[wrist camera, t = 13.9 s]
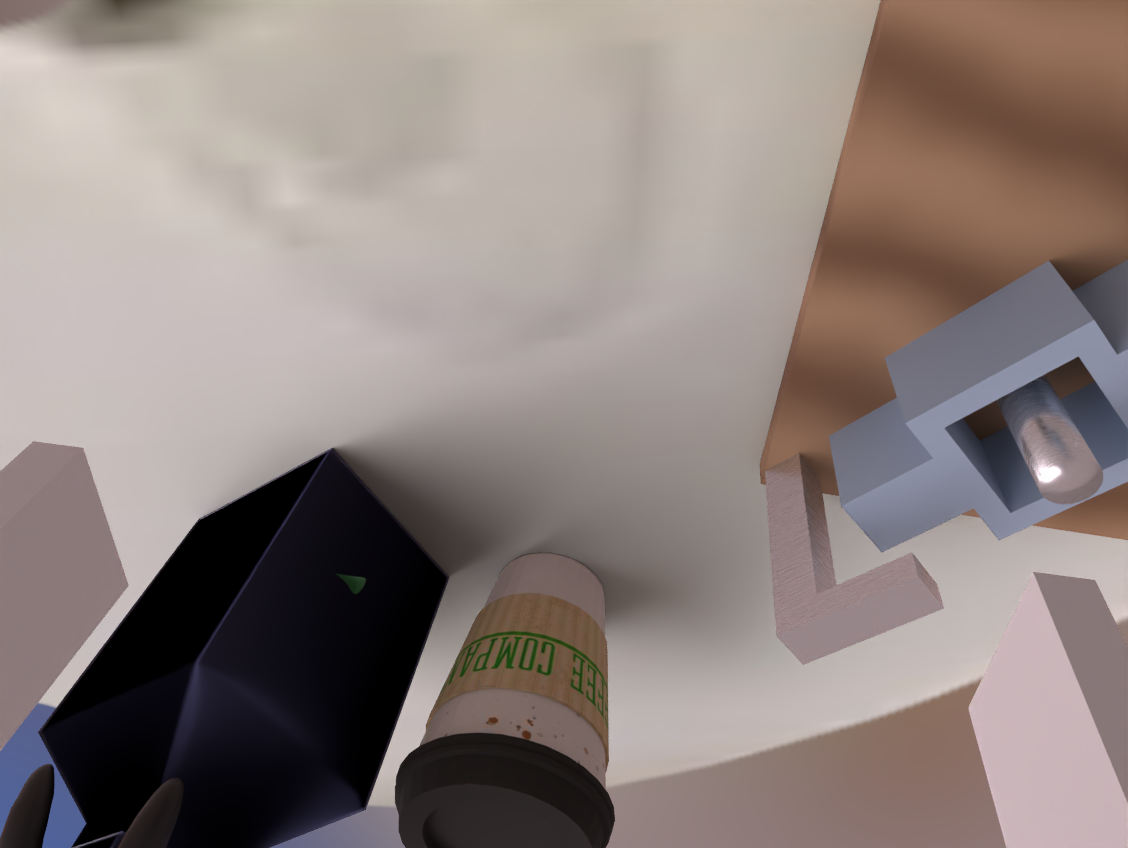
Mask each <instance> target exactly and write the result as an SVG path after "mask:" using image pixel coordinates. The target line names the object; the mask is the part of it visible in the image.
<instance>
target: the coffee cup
mask: <svg viewBox="0 0 1128 848" xmlns="http://www.w3.org/2000/svg"><path fill="white" fill-rule="evenodd" d="M608 761H609V746H608V661H607V641H606V639H605V597H604V591H603V588H602V585H601V583H600V582H599V580H598V578H597V577H596V576H595V575H594V574H593V573H592V572H591V571H590V570H589V569H588V568H587V567H585V566H584V565H582V564H581V563H579V562H577V561H575V560H573V559H571V558H568V557H565V556H562V555H557V554H551V553H536V554H528V555H525V556H522V557H519V558H517V559H515V560H513V561H511V562H510V563H509V564H508V565H506V566H505V567H504V569H503V570H502V571H501V573H500V575H499V577H498V579H497V581H496V583H495V585H494V588H493V590H492V592H491V594H490V596H489V598H488V600H487V603H486V605H485V607H484V608H483V609H482V610H481V612H480V613H479V614H478V616H477V617H476V619H475V621H474V623H473V625H472V627H471V630H470V632H469V634H468V636H467V638H466V640H465V642H464V644H463V646H462V648H461V650H460V653H459V655H458V657H457V659H456V661H455V663H454V665H453V667H452V669H451V671H450V673H449V676H448V678H447V680H446V682H445V684H444V686H443V688H442V690H441V692H440V694H439V697H438V699H437V701H436V703H435V705H434V707H433V709H432V711H431V713H430V716H429V718H428V721H427V724H426V733H425V735H424V737H423V739H422V742H421V744H420V746H419V747H418V748H416V749H415V750H414V751H412V752H411V753H409V755H408V756H407V757H406V758H405V760H404V761H403V762H402V763H401V765H400V768H399V771H398V773H397V776H396V786H395V804H396V807H397V810H398V813H399V833H400V837H401V840H402V843H403V844H404V846H405V847H406V848H606V846H607V844H608V842H609V839H610V836H611V833H612V829H613V826H614V821H615V816H614V807H613V804H612V802H611V799H610V797H609V794H608V792H607V791H606V782H605V773H606V770H607V766H608Z"/></svg>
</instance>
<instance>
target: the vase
mask: <svg viewBox="0 0 1128 848" xmlns="http://www.w3.org/2000/svg"><path fill="white" fill-rule="evenodd" d="M448 579H449V577H448V575H447V574H446V573H445V572H444V571H443V570H442V569H441V568H440V567H439V566H438V564H437V563H436V562H435V561H434V560H433V559H432V558H431V557H430V556H429V554H428V553H427V552H426V551H425V550H424V549H423V548H422V547H421V546H420V545H419V543H418V542H417V541H416V540H415V539H414V538H413V537H412V536H411V535H410V533H409V532H408V531H407V530H406V529H405V528H404V527H403V526H402V525H401V523H400V522H399V521H398V520H397V519H396V518H395V517H394V516H393V515H392V514H391V512H390V511H389V510H388V509H387V508H386V507H385V506H384V505H383V504H382V502H381V501H380V500H379V499H378V498H377V497H376V496H375V495H374V494H373V493H372V491H371V490H370V489H369V488H368V487H367V486H366V485H365V484H364V483H363V481H362V480H361V479H360V478H359V477H358V476H357V475H356V474H355V473H354V472H353V470H352V469H351V468H350V467H349V466H348V465H347V464H346V463H345V462H344V460H343V459H342V458H341V457H340V456H339V455H338V454H337V453H336V452H335V450H334V449H333V448H331V449H329V450H327V451H325V452H324V453H322V454H320V455H318V456H316V457H314V458H312V459H311V460H309V461H307V462H305V463H303V464H301V465H299V466H297V467H296V468H294V469H292V470H290V471H288V472H286V473H284V474H283V475H281V476H279V477H277V478H275V479H273V480H271V481H270V482H268V483H266V484H264V485H262V486H260V487H258V488H256V489H255V490H253V491H251V492H249V493H247V494H245V495H243V496H242V497H240V498H238V499H236V500H234V501H232V502H230V503H228V504H227V505H225V506H223V507H221V508H219V509H217V510H215V511H214V512H212V513H210V514H208V515H206V516H204V517H202V518H200V519H199V520H198V521H197V522H196V523H195V525H194V526H193V527H192V529H191V530H190V531H189V533H188V534H187V535H186V537H185V538H184V539H183V541H182V542H181V543H180V545H179V546H178V547H177V549H176V550H175V551H174V553H173V554H172V555H171V557H170V558H169V559H168V561H167V562H166V563H165V565H164V566H163V567H162V569H161V570H160V571H159V573H158V574H157V575H156V576H155V578H154V579H153V580H152V582H151V583H150V584H149V586H148V587H147V588H146V590H145V591H144V592H143V594H142V595H141V596H140V598H139V599H138V600H137V602H136V603H135V604H134V606H133V607H132V608H131V610H130V611H129V612H128V614H127V615H126V616H125V618H124V619H123V620H122V622H121V623H120V624H119V626H118V627H117V628H116V630H115V631H114V632H113V634H112V635H111V636H110V638H109V639H108V640H107V642H106V643H105V644H104V646H103V647H102V648H101V649H100V651H99V652H98V653H97V655H96V656H95V657H94V659H93V660H92V661H91V663H90V664H89V665H88V667H87V668H86V669H85V671H84V672H83V673H82V675H81V676H80V677H79V679H78V680H77V681H76V683H75V684H74V685H73V687H72V688H71V689H70V691H69V692H68V693H67V695H66V696H65V697H64V699H63V700H62V701H61V703H60V704H59V705H58V707H57V708H56V709H55V711H54V712H53V713H52V715H51V716H50V717H49V719H48V720H47V721H46V723H45V724H44V725H43V726H42V728H41V729H40V730H39V732H38V733H39V735H40V737H41V738H42V740H43V742H44V744H45V746H46V748H47V750H48V752H49V754H50V755H51V757H52V759H53V761H54V763H55V765H56V767H57V769H58V771H59V772H60V774H61V776H62V778H63V780H64V782H65V784H66V786H67V788H68V789H69V791H70V793H71V795H72V797H73V799H74V801H75V803H76V805H77V806H78V808H79V810H80V812H81V814H82V816H83V818H84V820H85V822H86V823H87V824H86V825H85V827H84V828H83V830H82V832H81V833H80V835H79V836H78V838H77V839H76V841H75V843H74V844H73V846H72V847H71V848H269V847H272V846H275V845H277V844H280V843H282V842H285V841H287V840H290V839H292V838H295V837H297V836H300V835H303V834H305V833H308V832H310V831H313V830H315V829H318V828H320V827H323V826H326V825H328V824H331V823H333V822H336V821H338V820H341V819H343V818H346V817H348V816H351V815H353V814H356V813H358V812H361V811H364V810H366V807H367V804H368V802H369V799H370V796H371V793H372V790H373V788H374V785H375V782H376V779H377V777H378V774H379V771H380V768H381V765H382V763H383V760H384V757H385V754H386V752H387V749H388V746H389V743H390V741H391V738H392V735H393V732H394V729H395V727H396V724H397V721H398V718H399V716H400V713H401V710H402V707H403V704H404V702H405V699H406V696H407V693H408V691H409V688H410V685H411V682H412V679H413V677H414V674H415V671H416V668H417V666H418V663H419V660H420V657H421V654H422V652H423V649H424V646H425V643H426V641H427V638H428V635H429V632H430V629H431V627H432V624H433V621H434V618H435V616H436V613H437V610H438V607H439V604H440V602H441V599H442V596H443V593H444V591H445V588H446V585H447V582H448ZM53 796H54V768H53V766H52V765H51V764H46V765H43V766H41V767H39V768H38V769H37V770H36V771H34V772H33V773H32V774H31V776H30V777H29V778H28V780H27V781H26V783H25V784H24V787H23V788H22V790H21V792H20V794H19V796H18V798H17V799H16V801H15V802H14V804H13V806H12V807H11V810H10V813H9V815H8V818H7V821H6V823H5V826H4V829H3V832H2V835H1V837H0V848H42V844H43V838H44V834H45V831H46V827H47V823H48V818H49V813H50V808H51V804H52V800H53Z"/></svg>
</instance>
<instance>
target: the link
mask: <svg viewBox="0 0 1128 848" xmlns="http://www.w3.org/2000/svg"><path fill="white" fill-rule="evenodd" d="M1078 356H1079V358H1080V359H1081V361H1082V362H1083V364H1084V365H1085V367H1086V368H1087V370H1088V371H1089V373H1090V374H1091V376H1092V377H1093V379H1094V380H1095V382H1093V383H1091V384H1089V385H1087V386H1085V387H1083V388H1081V389H1079V390H1077V391H1075V392H1073V393H1071V394H1069V395H1067V396H1065V397H1063V398H1062V399H1060V400H1061V402H1062V403H1063V405H1064V407H1065V408H1066V410H1067V412H1068V413H1069V415H1070V417H1071V418H1072V420H1073V422H1074V423H1075V425H1076V427H1077V429H1078V430H1079V432H1080V434H1081V435H1082V437H1083V439H1084V440H1085V442H1086V444H1087V445H1088V447H1089V449H1090V450H1091V452H1092V454H1093V455H1094V457H1095V459H1096V460H1097V462H1098V464H1099V465H1100V467H1101V469H1102V471H1103V476H1104V477H1103V482H1102V485H1101V487H1100V488H1099V489H1098V491H1097V492H1096V493H1095V494H1093V495H1092V496H1091V497H1089V498H1087V499H1085V500H1083V501H1081V502H1078V503H1073V504H1057V503H1053V502H1051V501H1048V500H1047V499H1045V498H1044V497H1043V496H1042V495H1041V493H1040V491H1039V489H1038V487H1037V485H1036V483H1035V481H1034V479H1033V477H1032V475H1031V473H1030V470H1029V468H1028V466H1027V464H1026V462H1025V460H1024V458H1023V456H1022V454H1021V452H1020V450H1019V448H1018V446H1017V444H1016V442H1015V439H1014V437H1013V435H1012V433H1011V431H1010V429H1009V427H1008V426H1007V427H1005V428H1003V429H1001V430H999V431H997V432H995V433H994V434H992V435H990V436H988V437H986V438H984V439H982V440H979V439H978V438H977V436H976V435H975V434H974V432H973V431H972V430H971V428H970V427H969V426H968V425H967V423H966V422H965V421H964V419H963V418H964V417H965V416H967V415H969V414H971V413H973V412H975V411H977V410H979V409H981V408H982V407H984V406H986V405H988V404H990V403H992V402H994V401H996V400H997V399H999V398H1001V397H1003V396H1005V395H1007V394H1009V393H1011V392H1012V391H1014V390H1016V389H1018V388H1020V387H1022V386H1024V385H1026V384H1027V383H1029V382H1031V381H1033V380H1035V379H1037V378H1039V377H1041V376H1043V375H1044V374H1046V373H1048V372H1050V371H1052V370H1054V369H1056V368H1058V367H1059V366H1061V365H1063V364H1065V363H1067V362H1069V361H1071V360H1073V359H1074V358H1076V357H1078ZM885 360H886V364H887V367H888V370H889V373H890V376H891V380H892V383H893V386H894V389H895V392H896V396H897V398H895V399H893V400H892V401H890V402H888V403H886V404H885V405H883V406H881V407H879V408H877V409H876V410H874V411H872V412H870V413H869V414H867V415H865V416H863V417H862V418H860V419H858V420H856V421H854V422H853V423H851V424H849V425H847V426H846V427H844V428H842V429H840V430H838V431H837V432H835V433H833V434H831V435H830V436H829V441H830V446H831V452H832V458H833V463H834V469H835V474H836V480H837V485H838V491H839V496H840V502H841V506H842V507H843V509H844V510H845V511H846V512H847V513H848V514H849V515H850V517H851V518H852V519H853V520H854V521H855V522H856V523H857V525H858V526H859V527H860V528H861V529H862V530H863V531H864V533H865V534H866V535H867V536H868V537H869V538H870V539H871V540H872V542H873V543H874V544H875V545H876V546H877V547H878V548H879V550H880V551H881V552H884V551H886V550H888V549H890V548H892V547H894V546H896V545H898V544H900V543H902V542H904V541H907V540H909V539H911V538H913V537H915V536H917V535H919V534H921V533H923V532H925V531H927V530H929V529H932V528H934V527H936V526H938V525H940V524H942V523H944V522H946V521H948V520H950V519H952V518H955V517H957V516H959V515H961V514H963V513H965V512H967V511H969V510H971V509H973V508H974V510H975V511H976V512H977V513H978V515H979V516H980V517H981V518H982V520H983V521H984V522H985V523H986V525H987V526H988V527H989V528H990V530H991V531H992V532H993V533H994V535H995V536H996V537H997V538H998V540H1001V539H1003V538H1005V537H1007V536H1009V535H1012V534H1014V533H1016V532H1018V531H1020V530H1023V529H1025V528H1027V527H1029V526H1031V525H1034V524H1036V523H1038V522H1040V521H1042V520H1045V519H1047V518H1049V517H1051V516H1053V515H1055V514H1058V513H1060V512H1062V511H1064V510H1066V509H1069V508H1071V507H1073V506H1075V505H1077V504H1080V503H1082V502H1084V501H1086V500H1088V499H1091V498H1093V497H1095V496H1097V495H1099V494H1102V493H1104V492H1106V491H1108V490H1110V489H1113V488H1115V487H1117V486H1119V485H1121V484H1124V483H1126V482H1128V260H1126V261H1124V262H1123V263H1121V264H1119V265H1117V266H1115V267H1114V268H1112V269H1110V270H1108V271H1107V272H1105V273H1103V274H1101V275H1100V276H1098V277H1096V278H1094V279H1093V280H1091V281H1089V282H1087V283H1086V284H1084V285H1082V286H1080V287H1079V288H1077V289H1075V290H1073V291H1072V290H1071V289H1070V287H1069V286H1068V285H1067V284H1066V282H1065V281H1064V280H1063V278H1062V277H1061V276H1060V274H1059V273H1058V272H1057V270H1056V269H1055V268H1054V267H1053V265H1052V264H1051V263H1050V261H1047V262H1046V263H1044V264H1042V265H1041V266H1039V267H1037V268H1036V269H1034V270H1032V271H1030V272H1029V273H1027V274H1025V275H1024V276H1022V277H1020V278H1019V279H1017V280H1015V281H1014V282H1012V283H1010V284H1008V285H1007V286H1005V287H1003V288H1002V289H1000V290H998V291H997V292H995V293H993V294H992V295H990V296H988V297H986V298H985V299H983V300H981V301H980V302H978V303H976V304H975V305H973V306H971V307H970V308H968V309H966V310H964V311H963V312H961V313H959V314H958V315H956V316H954V317H953V318H951V319H949V320H948V321H946V322H944V323H943V324H941V325H939V326H937V327H936V328H934V329H932V330H931V331H929V332H927V333H926V334H924V335H922V336H921V337H919V338H917V339H915V340H914V341H912V342H910V343H909V344H907V345H905V346H904V347H902V348H900V349H899V350H897V351H895V352H893V353H892V354H890V355H888V356H887V357H885Z"/></svg>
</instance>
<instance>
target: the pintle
mask: <svg viewBox="0 0 1128 848" xmlns="http://www.w3.org/2000/svg"><path fill="white" fill-rule="evenodd" d="M996 402H997V404H998V406H999V408H1000V411H1001V413H1002V415H1003V417H1004V419H1005V421H1006V423H1007V425H1008V427H1009V429H1010V431H1011V433H1012V435H1013V437H1014V439H1015V442H1016V444H1017V446H1018V448H1019V450H1020V452H1021V454H1022V456H1023V458H1024V460H1025V462H1026V464H1027V466H1028V468H1029V470H1030V473H1031V475H1032V477H1033V479H1034V481H1035V483H1036V485H1037V487H1038V489H1039V491H1040V493H1041V495H1042V496H1043V497H1044V498H1045V499H1047V500H1048V501H1051V502H1053V503H1057V504H1073V503H1078V502H1081V501H1083V500H1085V499H1087V498H1089V497H1091V496H1092V495H1093V494H1095V493H1096V492H1097V491H1098V489H1099V488H1100V487H1101V485H1102V482H1103V477H1104V476H1103V471H1102V469H1101V467H1100V465H1099V464H1098V462H1097V460H1096V459H1095V457H1094V455H1093V454H1092V452H1091V450H1090V449H1089V447H1088V445H1087V444H1086V442H1085V440H1084V439H1083V437H1082V435H1081V434H1080V432H1079V430H1078V429H1077V427H1076V425H1075V423H1074V422H1073V420H1072V418H1071V417H1070V415H1069V413H1068V412H1067V410H1066V408H1065V407H1064V405H1063V403H1062V402H1061V400H1060V398H1059V397H1058V395H1057V393H1056V392H1055V390H1054V388H1053V387H1052V385H1051V383H1050V382H1049V380H1048V378H1047V377H1046V375H1045V374H1044V375H1043V376H1041V377H1039V378H1037V379H1035V380H1033V381H1031V382H1029V383H1027V384H1026V385H1024V386H1022V387H1020V388H1018V389H1016V390H1014V391H1012V392H1011V393H1009V394H1007V395H1005V396H1003V397H1001V398H999V399H997V400H996Z"/></svg>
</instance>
